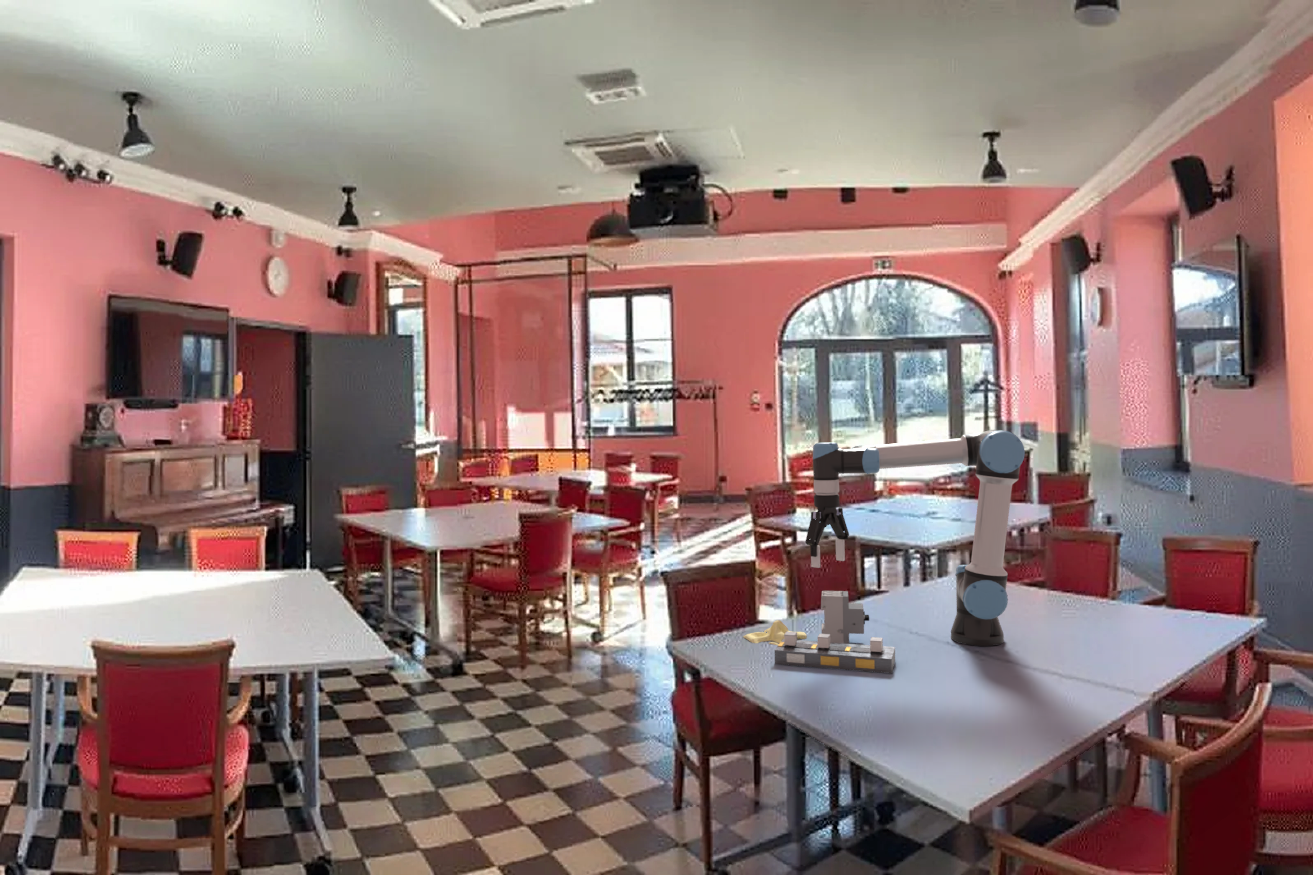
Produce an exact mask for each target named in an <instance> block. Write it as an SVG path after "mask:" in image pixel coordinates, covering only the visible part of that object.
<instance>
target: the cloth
mask: <svg viewBox="0 0 1313 875" xmlns="http://www.w3.org/2000/svg"><path fill="white" fill-rule="evenodd" d="M763 631H764V632H763ZM763 631H756V632H751V633H746V634H745V635H743V636H742V638H744V639H746V640H748V641H749V642H750V643H752V644H759V643H761V642H762V643H763V642H768V644H769V645H774V646H778V645H779V643H780V642H781V641H782V640H783V639H784V634H785V633H786V632H787V631H788V632H793V631H792V630H789V629H788V626H787V625H786V624H785V623H783V622H782V621H781V620H780V619H779V620H777V619H776V620H775V621H773V622H772V625H771V626H770V627H768V628H766V629H765V630H763ZM766 632H767V633H766ZM796 632H797V640H799V639H801V640H805V639H807V636H808V635H807V634H806V632H804V631H796Z"/></svg>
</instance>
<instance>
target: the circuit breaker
mask: <svg viewBox="0 0 1313 875" xmlns="http://www.w3.org/2000/svg"><path fill="white" fill-rule="evenodd" d="M820 610H821V611H823V612H824V623H821V634H830V642H831V643H845V644H850V634H854V635H855V634H856V635H857V634H859V635H863V634H864V635H865V624H866V622H869V621H870V615H869V614H866V613H865V611H864V605H863V603H854V602H853V603H852V602H851V603H850V601H849V592H848V590H845V591H844V590H822V591H821V596H820Z"/></svg>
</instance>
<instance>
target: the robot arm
mask: <svg viewBox="0 0 1313 875" xmlns="http://www.w3.org/2000/svg"><path fill="white" fill-rule="evenodd" d="M812 448H813V449H812V471H813V473H812V474H813V493H815V494H814V495H813V505H814V507H816V508H817V511H811V512H810V522H809V525H808V528H807V534H806V537H805V544H806V545H807V546H810V549H809V550H810V566H811V568H817V569H819V568H821V546H820V545H819V543H820V541H821V538H822V536H823V532H824V531H825V528H827V527H828V526H830V528H831V530H832V531H833V532H834V534H835V537H836V538H835V560H836V561H840V562H844V561H846V553H845V551H846V550H845V549H846V547H845V546H846V545H845V544H846V542H845V541H846V540H849V537H850V536H849V535H850V533H849V529H848V527H847V523H846V520H845V517H844V512H843V511H844V510H843V509H844V508H843V507H839V506H840V494H839V493H840V476H839V475H840V474H841V475H845V474H851V475H852V474H857V475H858V474H860V475H861V474H862V475H863V474H866V475H870V474H878V473H879V472H880V470H882V469H883V470H884V469H885V470H886V469H896V468H913V467H915V468H916V467H928V466H929V467H930V466H940V465H941V466H942V465H956V464H957V465H958V464H959V465H960V464H962V465H964V466H965V467H975V466H976V467H975V476H976V478H977V479H978V480H979V487H978V488H979V490H978V498H977V507H976V515H975V524H974V533H973V543H972V552H971V559H970V561H971V562H970V563H969V564H958V565H957V566H956V569H955V571H956V572H955V587H956V592H955V593H956V597H955V598H956V615H955V616H954V620H953V624H952V626H951V629H950V639H951V640H952V641H954V642H956V643H959V644H963V645H968V646H978V647H990V646H998V645H1001V644H1003V643H1004V641H1005V640H1004V639H1005V637H1004V635H1005V634H1004V632H1003V629H1002V625H1001V623H1000V620H999V617H1000V616H1001V615H1002V614H1003V613H1004V612H1005V611H1006V609H1007V607H1008V601H1009V597H1008V593H1007V584H1008V583H1007V582H1008V575H1009V574H1008V572H1007V571H1006V570H1005V568H1004V567H1003V566H1004V559H1005V552H1006V551H1005V550H1006V541H1007V535H1008V534H1007V533H1008V532H1007V531H1008V524H1009V516H1010V505H1011V498H1012V488H1013V485H1014V484H1015V483H1016V482H1018V481H1019V479H1020V478H1019V477H1020V470H1021V465H1022V464H1023V461H1024V460H1025V454H1026V452H1025V451H1026V450H1025V446H1024V444H1023V442H1022V440H1021V439H1020V438H1019V437H1018V436H1017V435H1016V434H1014V433H1013V432H1010V431H1009V430H1005V429H1002V430H1001V429H989V430H986V431H982V432H977V433H972V434H962V435H961V437H960V438H949V439H948V438H947V439H937V440H925V441H912V442H911V441H910V442H899V443H889V444H888V443H886V444H875V445H864V446H863V445H855V446H853V447H852V448H839V444H838V442H829V441H828V442H817V443H814V444H813V446H812Z"/></svg>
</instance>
